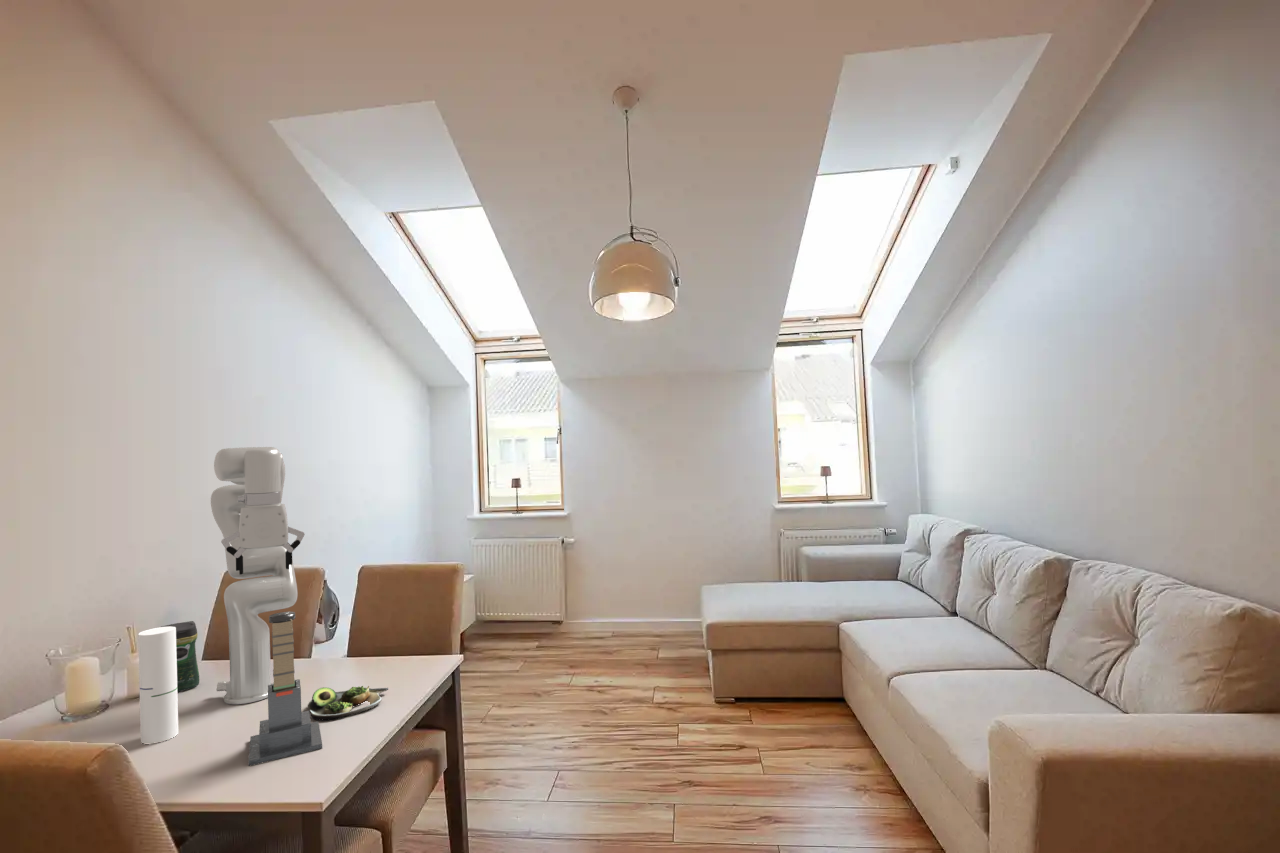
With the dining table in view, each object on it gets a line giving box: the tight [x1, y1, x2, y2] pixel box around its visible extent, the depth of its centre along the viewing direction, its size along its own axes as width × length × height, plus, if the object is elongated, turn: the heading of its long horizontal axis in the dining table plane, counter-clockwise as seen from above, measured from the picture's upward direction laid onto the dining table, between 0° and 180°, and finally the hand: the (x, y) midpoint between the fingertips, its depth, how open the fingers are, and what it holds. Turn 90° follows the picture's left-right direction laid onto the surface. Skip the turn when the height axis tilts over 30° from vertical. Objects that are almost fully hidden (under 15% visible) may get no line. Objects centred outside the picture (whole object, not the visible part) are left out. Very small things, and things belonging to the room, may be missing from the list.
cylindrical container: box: [137, 626, 179, 744], centre depth 153 cm, size 7×7×25 cm
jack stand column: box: [268, 611, 296, 692], centre depth 147 cm, size 5×5×22 cm
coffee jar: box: [160, 620, 200, 693], centre depth 185 cm, size 10×8×19 cm
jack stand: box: [248, 679, 323, 767], centre depth 147 cm, size 14×14×13 cm
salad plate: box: [307, 685, 389, 721], centre depth 169 cm, size 19×18×5 cm
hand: (264, 570), depth 156 cm, fingers open, 9 cm apart
